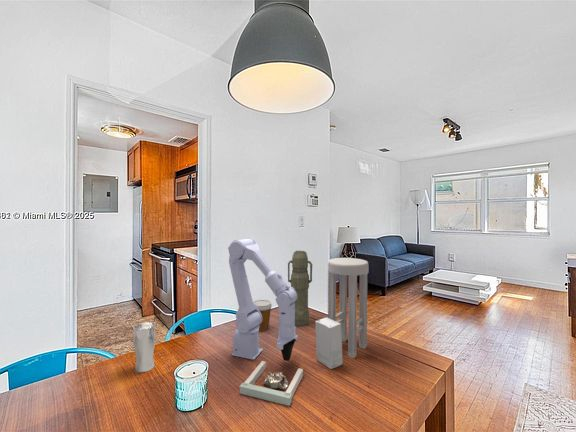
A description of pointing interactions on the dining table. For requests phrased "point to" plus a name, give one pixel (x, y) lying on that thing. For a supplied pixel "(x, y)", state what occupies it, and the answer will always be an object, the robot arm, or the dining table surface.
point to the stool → (349, 299)
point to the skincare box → (329, 342)
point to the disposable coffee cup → (264, 313)
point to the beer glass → (144, 346)
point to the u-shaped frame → (267, 393)
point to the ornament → (276, 380)
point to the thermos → (300, 285)
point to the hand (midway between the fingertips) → (286, 359)
